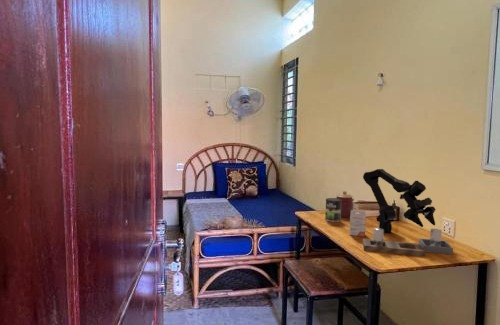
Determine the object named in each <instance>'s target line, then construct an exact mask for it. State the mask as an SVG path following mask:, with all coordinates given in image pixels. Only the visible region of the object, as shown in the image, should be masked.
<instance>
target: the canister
mask: <svg viewBox="0 0 500 325" xmlns="http://www.w3.org/2000/svg"><path fill="white" fill-rule="evenodd" d="M335 198H337V199H341V200H342V201H341V218H350V215H351V210H354V201H355V200H354V196H353V195H352V194H351V193H347V191H346V190H343V191H342V192H341V193H337V194H336V197H335Z"/></svg>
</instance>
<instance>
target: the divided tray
mask: <svg viewBox="0 0 500 325" xmlns="http://www.w3.org/2000/svg"><path fill="white" fill-rule="evenodd" d="M362 241H363V242H362V245H363V246H362V248H363V251H366V252H376V253H386V254H387V253H388V254H397V255H406V256H417V257H426V252H425V251H424V249H423V247H422V246H421V244H419V243H415V242H406V241H405V242H401V241H393V240H383V246H377V245H373V238H372V239H369V238H363V239H362Z"/></svg>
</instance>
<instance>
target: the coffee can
mask: <svg viewBox="0 0 500 325" xmlns="http://www.w3.org/2000/svg"><path fill="white" fill-rule="evenodd" d="M341 201H342V200H341V199H337V198H336V197H335V198H334V197H326V198H325V215H324V216H325V217H324V220H325V221H327V222H331V223H332V222H337V223H338V222H340V221H341V218H342V217H341Z"/></svg>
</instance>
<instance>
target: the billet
mask: <svg viewBox="0 0 500 325" xmlns="http://www.w3.org/2000/svg"><path fill="white" fill-rule="evenodd" d="M372 230H373V231H372V240H373V245H377V246H383V241H384V236H385V235H384V234H385V233H384V229H382V228H379V227H373V229H372Z"/></svg>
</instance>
